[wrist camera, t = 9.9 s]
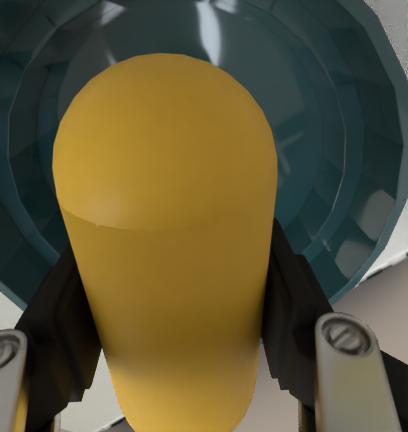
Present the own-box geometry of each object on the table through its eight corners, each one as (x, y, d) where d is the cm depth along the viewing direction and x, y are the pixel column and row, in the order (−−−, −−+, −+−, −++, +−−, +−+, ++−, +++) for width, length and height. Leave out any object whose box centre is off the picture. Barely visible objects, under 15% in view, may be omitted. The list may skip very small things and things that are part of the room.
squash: (57, 50, 8) (-49, 72, 4) (248, 44, 8) (348, 57, 4) (131, 367, 15) (125, 503, 10) (234, 351, 15) (267, 474, 11)
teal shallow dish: (20, -126, 12) (-122, -259, 7) (412, 48, 16) (532, 58, 10) (9, 247, 21) (-55, 324, 16) (262, 302, 25) (283, 379, 19)
